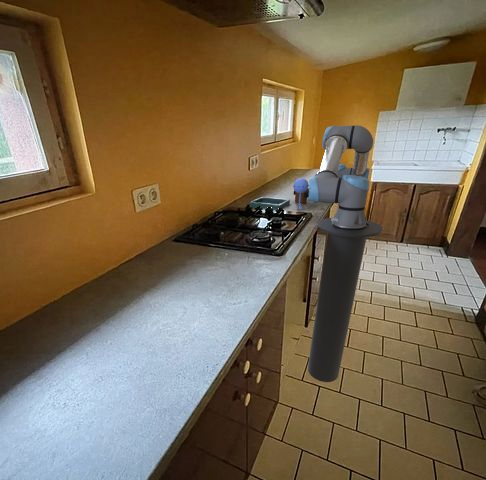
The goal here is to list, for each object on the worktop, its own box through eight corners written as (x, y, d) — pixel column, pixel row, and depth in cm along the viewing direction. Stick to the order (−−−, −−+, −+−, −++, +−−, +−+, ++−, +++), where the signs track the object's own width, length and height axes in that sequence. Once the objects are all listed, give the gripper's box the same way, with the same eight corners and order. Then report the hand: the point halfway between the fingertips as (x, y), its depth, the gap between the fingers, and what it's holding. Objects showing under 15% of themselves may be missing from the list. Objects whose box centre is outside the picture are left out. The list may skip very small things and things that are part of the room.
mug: (313, 201, 199) (315, 187, 195) (313, 204, 192) (315, 189, 188) (294, 201, 202) (296, 186, 197) (294, 203, 195) (295, 188, 191)
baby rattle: (288, 208, 183) (290, 177, 175) (300, 207, 186) (303, 176, 178) (296, 211, 176) (299, 179, 168) (309, 210, 178) (312, 178, 171)
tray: (289, 204, 194) (289, 199, 192) (278, 210, 181) (279, 205, 179) (261, 201, 204) (261, 196, 202) (249, 207, 191) (249, 202, 189)
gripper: (314, 182, 209) (288, 185, 200) (339, 186, 191) (311, 190, 183) (313, 193, 212) (287, 197, 204) (337, 198, 195) (310, 202, 186)
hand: (299, 193), depth 193 cm, fingers closed on mug, 9 cm apart
